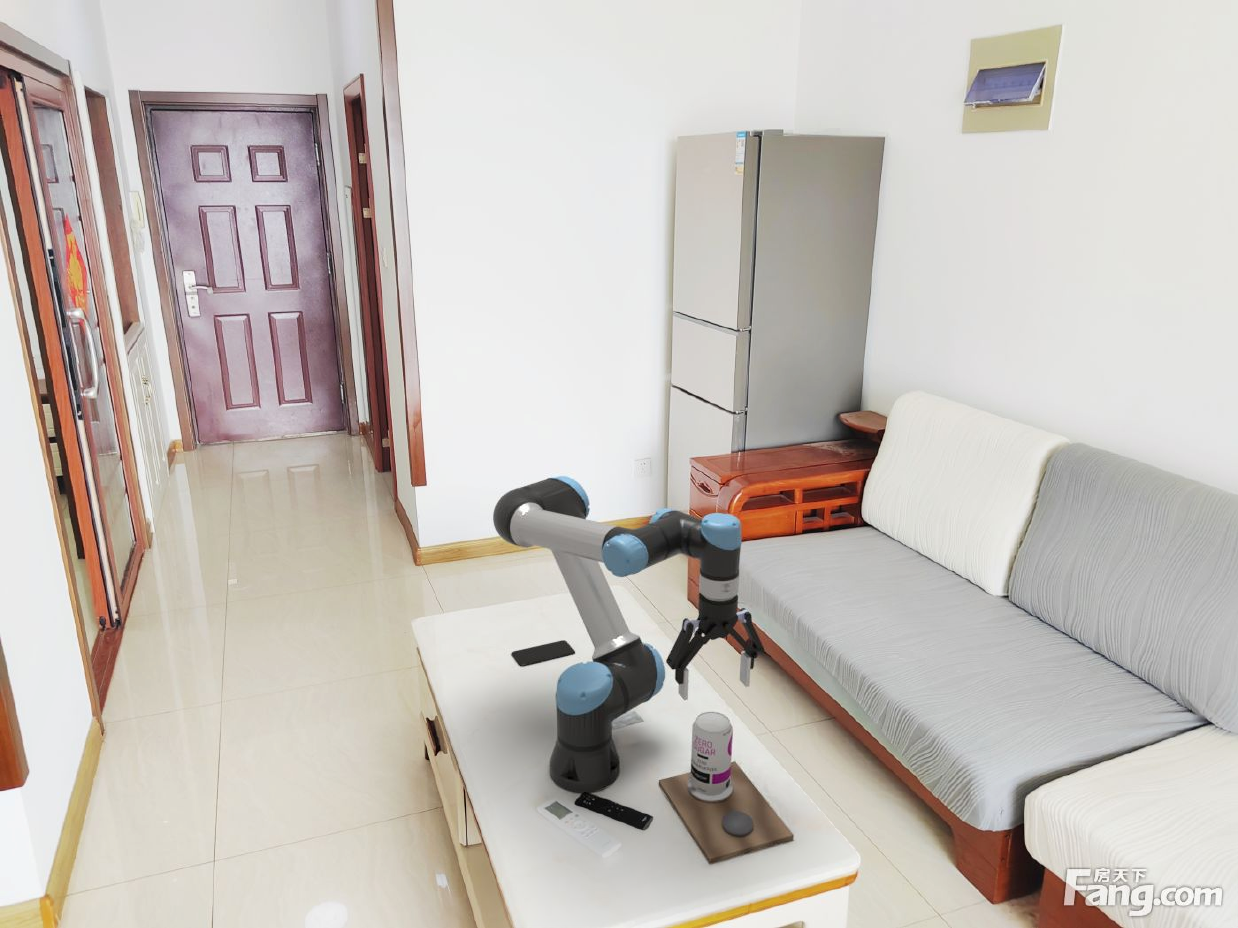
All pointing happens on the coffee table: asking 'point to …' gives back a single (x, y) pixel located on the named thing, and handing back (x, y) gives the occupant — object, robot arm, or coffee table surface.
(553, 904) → the coffee table surface
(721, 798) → the large steel flange
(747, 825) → the grey disc
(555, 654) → the smartphone
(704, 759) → the supplement can
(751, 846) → the walnut board
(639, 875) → the coffee table surface
